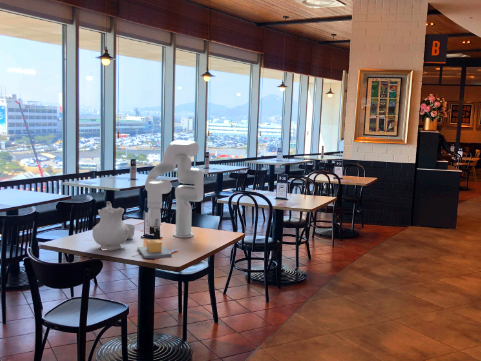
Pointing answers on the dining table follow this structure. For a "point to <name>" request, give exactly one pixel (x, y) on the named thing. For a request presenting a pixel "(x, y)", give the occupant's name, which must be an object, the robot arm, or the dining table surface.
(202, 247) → the dining table surface
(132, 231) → the teacup
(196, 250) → the dining table surface
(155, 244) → the yellow rounded block
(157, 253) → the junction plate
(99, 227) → the ceramic pitcher
